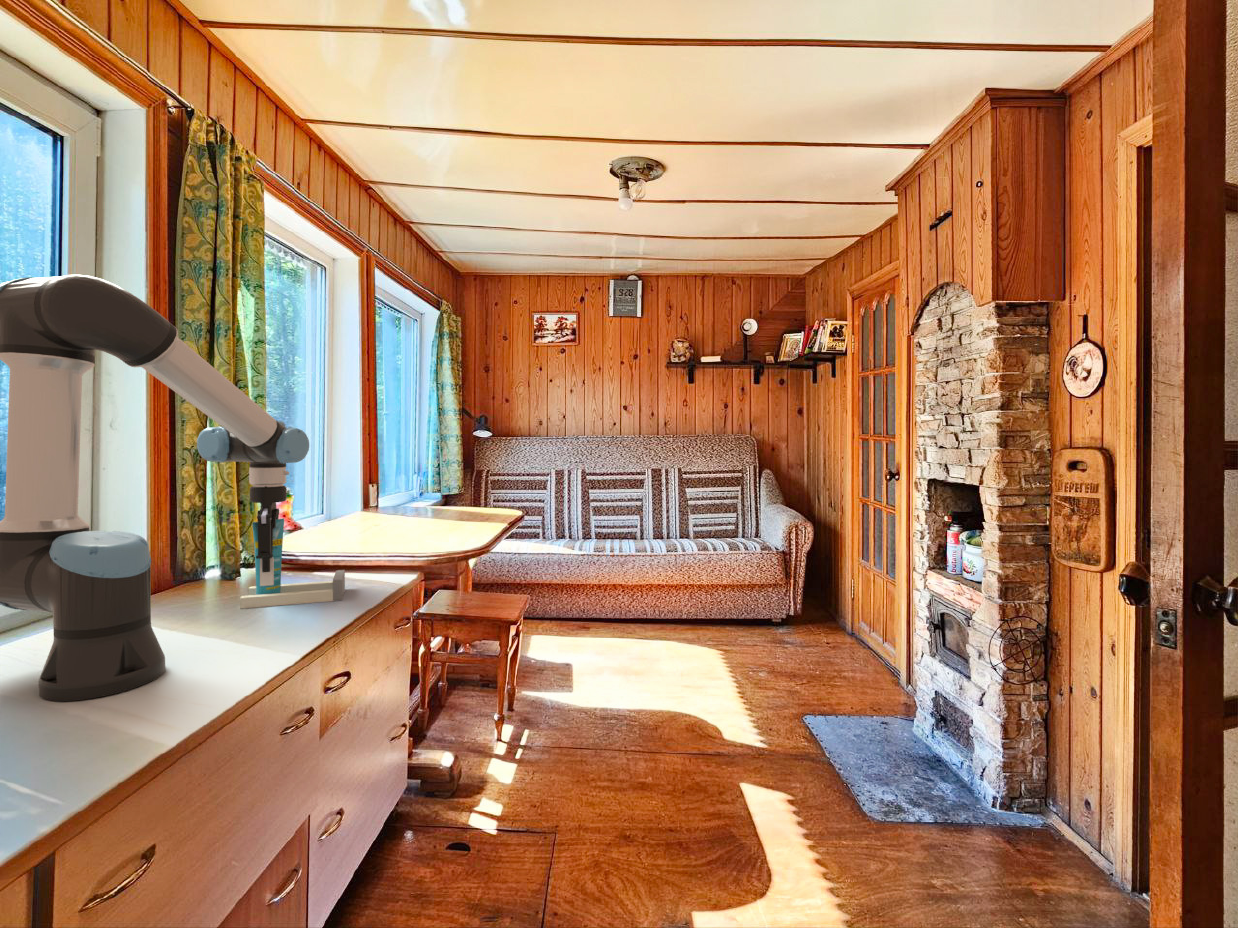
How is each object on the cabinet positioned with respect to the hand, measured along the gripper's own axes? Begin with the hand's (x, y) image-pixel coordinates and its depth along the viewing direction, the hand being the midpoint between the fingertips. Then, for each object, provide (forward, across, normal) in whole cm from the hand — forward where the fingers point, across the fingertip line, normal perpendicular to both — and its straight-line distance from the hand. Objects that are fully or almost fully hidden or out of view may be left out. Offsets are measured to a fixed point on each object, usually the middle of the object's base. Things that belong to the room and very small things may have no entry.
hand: (269, 582), depth 140 cm
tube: (+4, 0, 0) cm, 4 cm away
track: (+4, 0, -5) cm, 7 cm away
